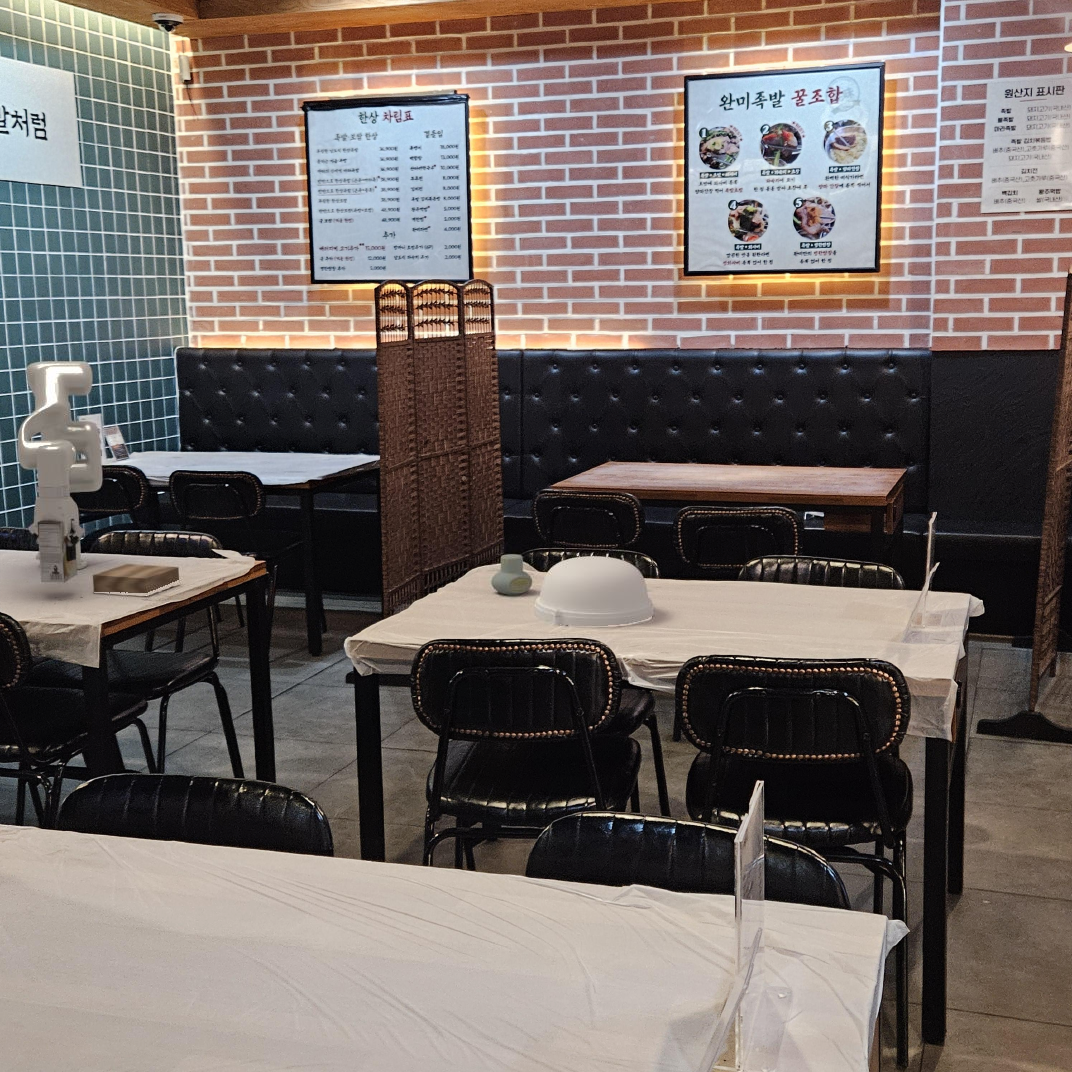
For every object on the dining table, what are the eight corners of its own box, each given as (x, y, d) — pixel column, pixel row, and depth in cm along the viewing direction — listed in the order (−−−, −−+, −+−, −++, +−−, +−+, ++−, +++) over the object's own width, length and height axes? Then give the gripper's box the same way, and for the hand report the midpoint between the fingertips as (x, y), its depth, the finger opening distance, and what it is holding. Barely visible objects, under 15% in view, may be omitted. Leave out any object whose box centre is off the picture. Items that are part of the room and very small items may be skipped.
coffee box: (54, 574, 352) (50, 515, 348) (77, 574, 351) (74, 515, 348) (40, 582, 343) (36, 521, 339) (64, 583, 342) (61, 522, 339)
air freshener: (502, 598, 347) (502, 560, 345) (486, 592, 354) (486, 555, 352) (537, 593, 353) (537, 556, 351) (520, 587, 360) (520, 551, 358)
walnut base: (93, 593, 351) (92, 574, 350) (128, 581, 366) (127, 563, 365) (146, 597, 347) (145, 578, 346) (179, 585, 362) (178, 567, 361)
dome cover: (582, 595, 351) (583, 543, 349) (679, 611, 333) (680, 557, 330) (506, 617, 326) (506, 561, 324) (606, 636, 308) (606, 577, 306)
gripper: (16, 492, 341) (20, 559, 345) (74, 496, 336) (78, 564, 340) (34, 488, 348) (38, 553, 352) (91, 492, 344) (95, 558, 347)
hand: (58, 558), depth 346 cm, fingers closed on coffee box, 7 cm apart
